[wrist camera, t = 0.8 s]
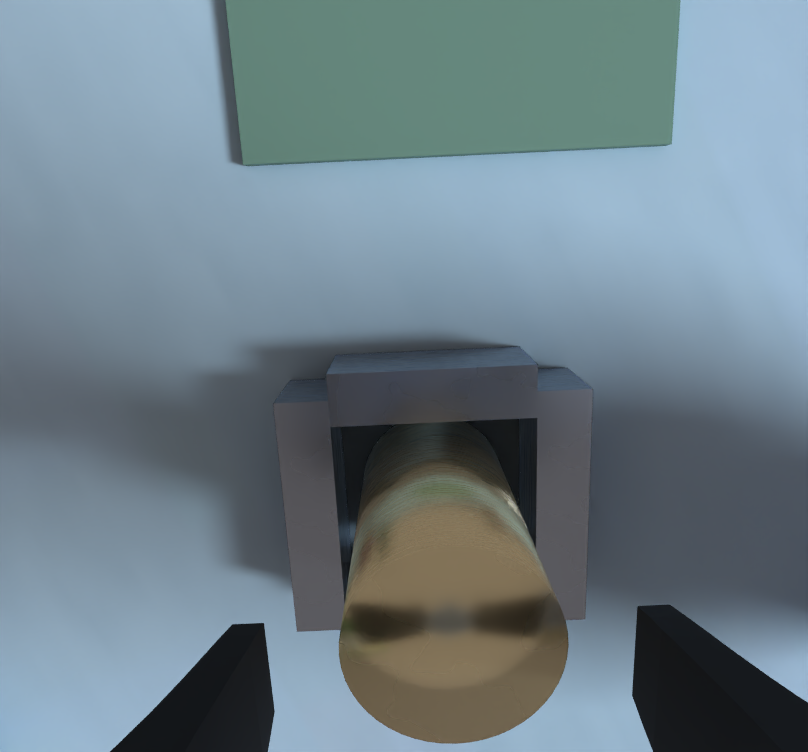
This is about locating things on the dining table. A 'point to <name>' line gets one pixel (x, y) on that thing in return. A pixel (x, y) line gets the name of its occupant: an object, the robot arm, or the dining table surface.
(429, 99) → the rubber mat
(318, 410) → the socket collar
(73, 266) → the dining table surface
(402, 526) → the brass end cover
